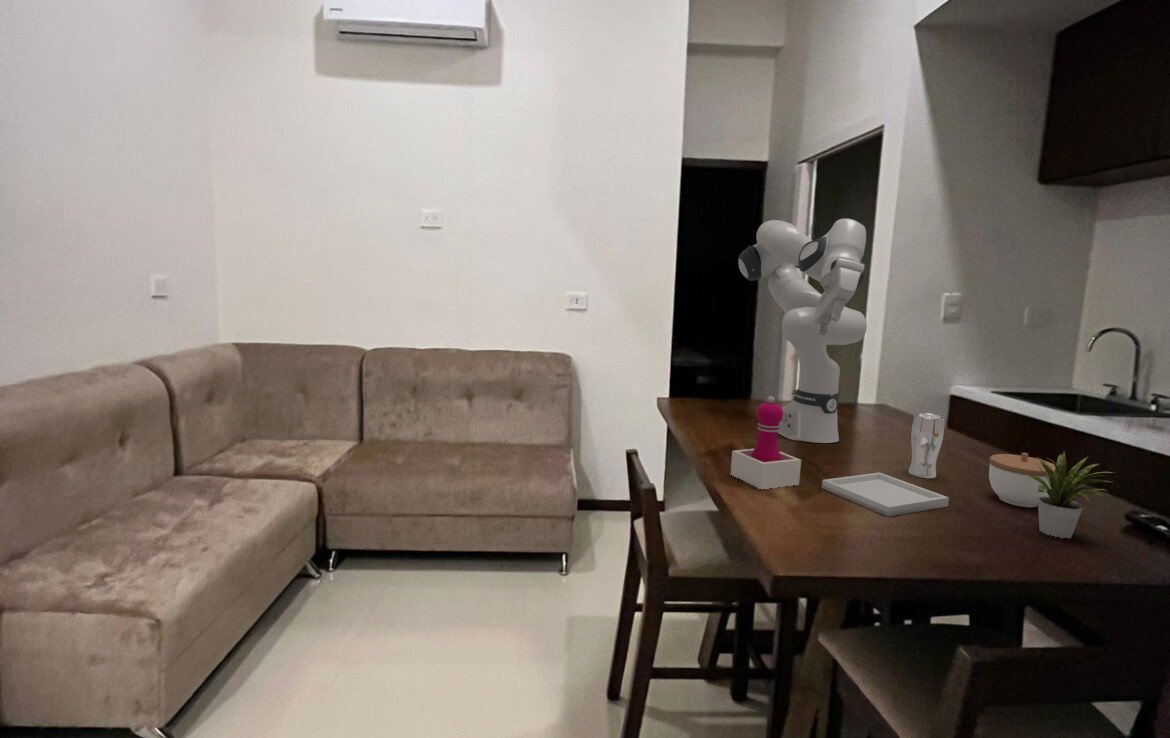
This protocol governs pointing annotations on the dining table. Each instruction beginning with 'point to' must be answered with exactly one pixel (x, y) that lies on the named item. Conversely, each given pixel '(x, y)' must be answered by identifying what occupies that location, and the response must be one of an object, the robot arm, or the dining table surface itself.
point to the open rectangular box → (765, 470)
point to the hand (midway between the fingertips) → (828, 327)
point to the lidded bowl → (1017, 478)
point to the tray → (885, 494)
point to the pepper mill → (768, 431)
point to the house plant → (1063, 497)
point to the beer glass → (926, 444)
